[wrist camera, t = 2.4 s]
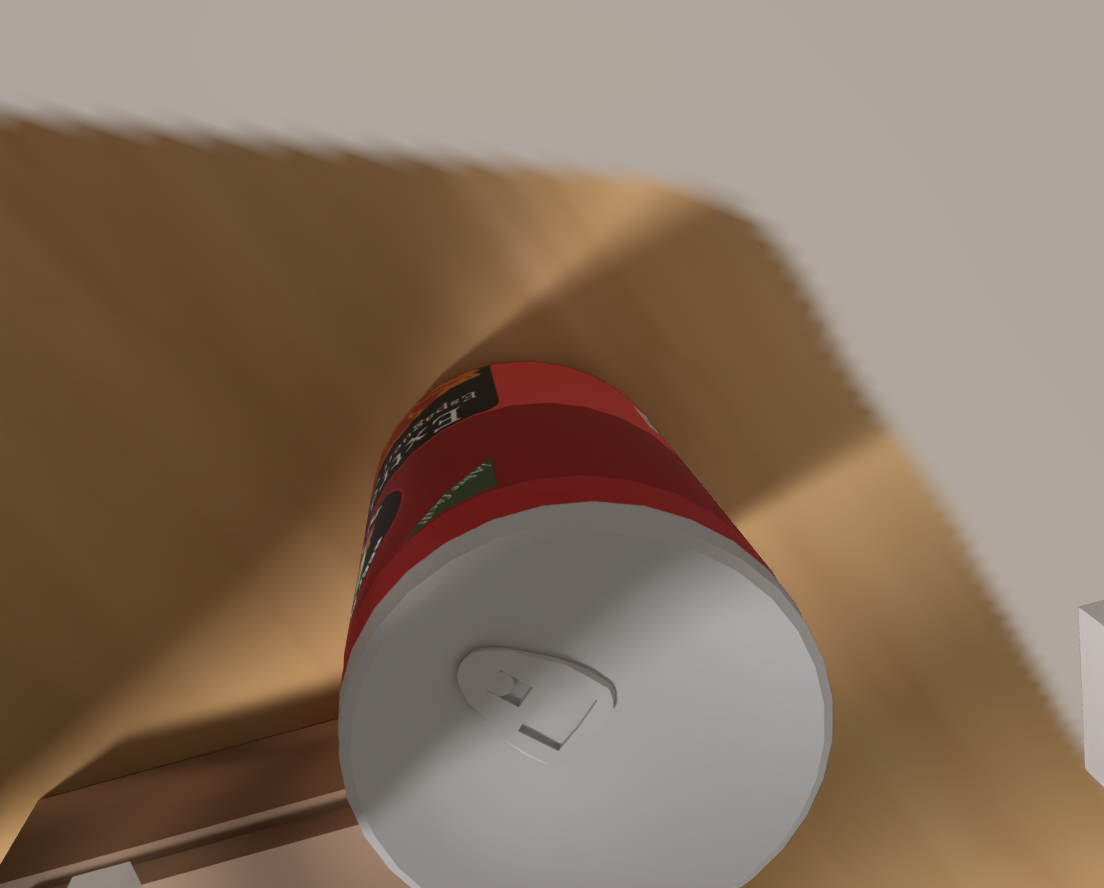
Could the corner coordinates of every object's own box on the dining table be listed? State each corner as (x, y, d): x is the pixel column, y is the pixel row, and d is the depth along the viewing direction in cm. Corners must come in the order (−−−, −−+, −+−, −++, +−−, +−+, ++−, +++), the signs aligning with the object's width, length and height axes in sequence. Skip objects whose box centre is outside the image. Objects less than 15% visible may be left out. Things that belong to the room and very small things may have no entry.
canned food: (424, 311, 23) (420, 450, 13) (715, 408, 25) (924, 600, 14) (336, 583, 25) (270, 899, 14) (612, 655, 27) (731, 983, 16)
